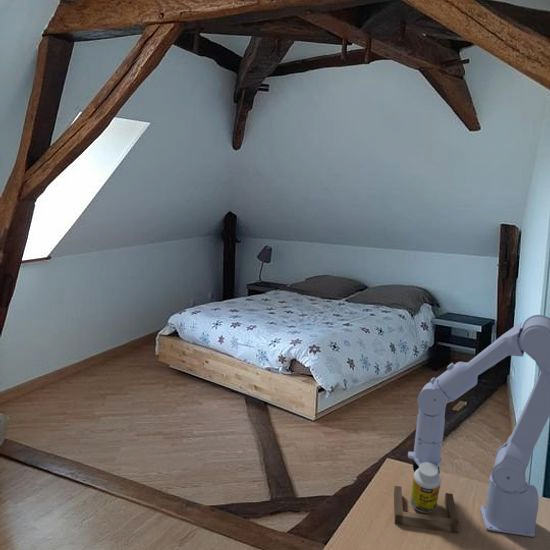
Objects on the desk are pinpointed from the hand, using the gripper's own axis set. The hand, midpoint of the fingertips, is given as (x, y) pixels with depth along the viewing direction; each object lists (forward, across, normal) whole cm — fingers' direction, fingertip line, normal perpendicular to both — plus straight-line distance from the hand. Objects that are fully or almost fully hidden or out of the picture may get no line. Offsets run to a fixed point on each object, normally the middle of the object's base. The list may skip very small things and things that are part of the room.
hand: (422, 494), depth 126 cm
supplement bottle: (0, +3, 0) cm, 3 cm away
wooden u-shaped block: (+1, +4, 0) cm, 5 cm away
